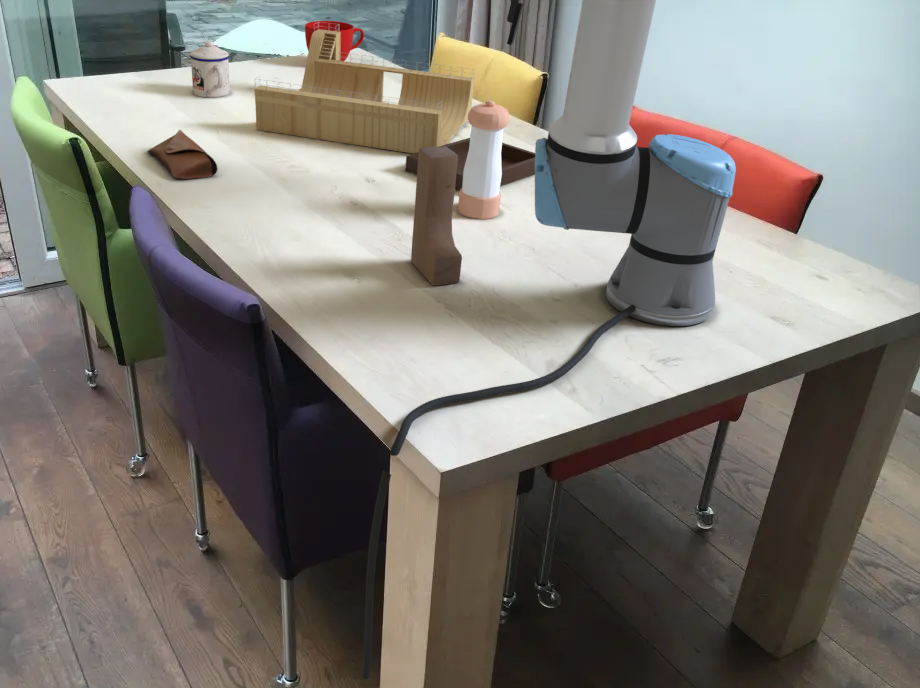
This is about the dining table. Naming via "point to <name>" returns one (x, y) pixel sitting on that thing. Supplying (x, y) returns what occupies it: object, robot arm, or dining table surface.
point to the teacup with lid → (210, 71)
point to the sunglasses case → (184, 158)
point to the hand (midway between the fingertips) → (547, 54)
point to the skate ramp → (365, 102)
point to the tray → (512, 162)
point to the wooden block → (435, 217)
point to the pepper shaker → (483, 162)
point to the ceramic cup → (345, 30)
